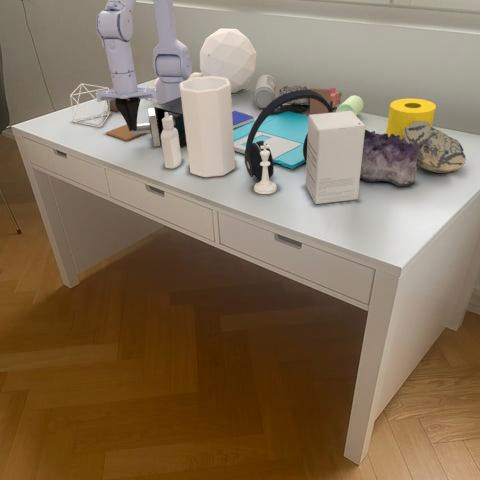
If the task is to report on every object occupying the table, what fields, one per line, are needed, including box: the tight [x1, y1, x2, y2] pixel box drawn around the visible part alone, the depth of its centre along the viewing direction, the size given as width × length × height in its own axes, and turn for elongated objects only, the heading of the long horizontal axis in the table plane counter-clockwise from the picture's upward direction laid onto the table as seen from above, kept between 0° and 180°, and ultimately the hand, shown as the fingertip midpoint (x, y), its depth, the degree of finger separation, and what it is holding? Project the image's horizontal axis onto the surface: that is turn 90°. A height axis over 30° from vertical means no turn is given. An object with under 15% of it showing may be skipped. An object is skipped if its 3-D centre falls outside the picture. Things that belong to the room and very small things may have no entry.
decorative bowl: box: [403, 121, 467, 174], centre depth 107 cm, size 15×4×15 cm
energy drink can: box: [253, 74, 277, 109], centre depth 147 cm, size 6×6×15 cm
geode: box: [360, 128, 418, 188], centre depth 105 cm, size 20×12×10 cm, turn 51°
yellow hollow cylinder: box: [385, 98, 437, 140], centre depth 114 cm, size 10×10×9 cm
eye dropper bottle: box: [160, 112, 182, 169], centre depth 113 cm, size 4×6×12 cm
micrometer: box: [271, 104, 307, 114], centre depth 137 cm, size 12×2×5 cm
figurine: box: [309, 86, 343, 115], centre depth 138 cm, size 7×6×12 cm
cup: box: [179, 76, 236, 179], centre depth 108 cm, size 11×11×18 cm
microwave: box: [153, 97, 187, 148], centre depth 127 cm, size 13×10×8 cm
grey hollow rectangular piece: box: [131, 107, 161, 148], centre depth 124 cm, size 7×6×8 cm
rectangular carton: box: [305, 111, 366, 205], centre depth 96 cm, size 9×9×15 cm
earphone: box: [244, 90, 335, 182], centre depth 103 cm, size 20×7×18 cm, turn 110°
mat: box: [106, 124, 147, 142], centre depth 134 cm, size 9×9×1 cm
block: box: [106, 100, 120, 113], centre depth 148 cm, size 4×4×5 cm
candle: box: [335, 94, 364, 117], centre depth 132 cm, size 5×5×8 cm
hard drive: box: [232, 110, 255, 130], centre depth 134 cm, size 2×8×12 cm
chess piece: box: [253, 142, 278, 195], centre depth 101 cm, size 5×5×10 cm
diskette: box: [233, 111, 308, 169], centre depth 125 cm, size 26×28×1 cm
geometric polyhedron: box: [69, 83, 111, 128], centre depth 139 cm, size 12×11×9 cm
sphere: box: [199, 28, 258, 94], centre depth 152 cm, size 18×20×18 cm
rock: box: [278, 85, 311, 105], centre depth 139 cm, size 13×9×4 cm
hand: (133, 129), depth 123 cm, fingers closed, pressing on grey hollow rectangular piece
